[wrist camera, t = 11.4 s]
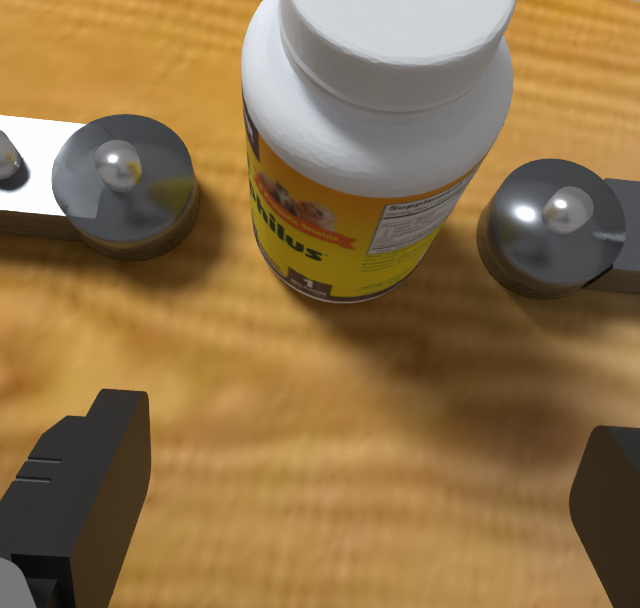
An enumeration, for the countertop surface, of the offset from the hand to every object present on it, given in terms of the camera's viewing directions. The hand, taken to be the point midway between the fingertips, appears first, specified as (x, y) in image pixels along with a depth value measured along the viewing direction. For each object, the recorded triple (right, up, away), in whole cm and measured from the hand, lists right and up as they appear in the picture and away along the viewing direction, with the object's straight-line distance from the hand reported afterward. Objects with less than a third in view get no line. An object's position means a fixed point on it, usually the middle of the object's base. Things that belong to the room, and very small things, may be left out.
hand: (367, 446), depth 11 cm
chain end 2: (+9, +4, +9) cm, 13 cm away
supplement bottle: (0, +5, +9) cm, 10 cm away
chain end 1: (-10, +6, +8) cm, 14 cm away
